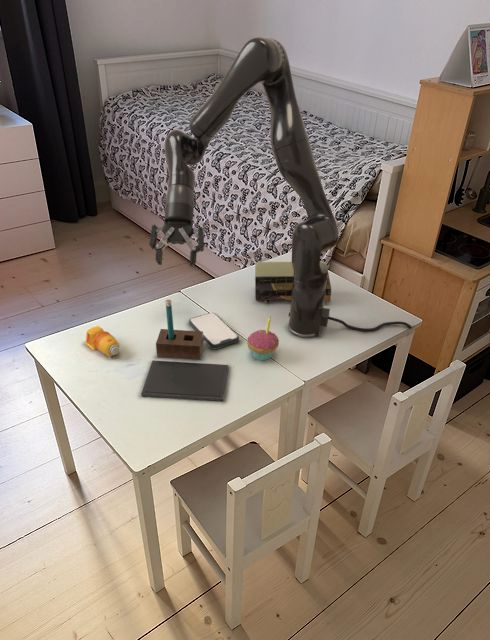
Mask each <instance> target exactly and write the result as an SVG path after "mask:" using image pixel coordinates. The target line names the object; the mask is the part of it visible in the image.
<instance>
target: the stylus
mask: <svg viewBox="0 0 490 640" xmlns="http://www.w3.org/2000/svg"><path fill="white" fill-rule="evenodd" d="M164 303H165V312H166V325H167V326H166V327H167V329H168V338H169V340H174V330H175V328H174V317H173V305H172V303H173V302H172V299H166V300H165V301H164Z"/></svg>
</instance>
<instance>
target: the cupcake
mask: <svg viewBox="0 0 490 640" xmlns="http://www.w3.org/2000/svg"><path fill="white" fill-rule="evenodd" d="M271 318H272V315H270V316H269V318H268V319H267V324H266V329H259V330H256V331H254V332H252V333H250V335H249V336H248V337H247V341H246V345H247V348H248V349H249V350H251V351H252V354H253V357H254V358H255V359H256V360H259V361H267V360H269V359H270V358H271V357H272V355H273V353H274V352H275V351H276V350H277V349H278V348H279V345H280V340H279V337H278V335H277V334H276V332H275V333H274V332H272V331H270V327H271V322H272V319H271Z"/></svg>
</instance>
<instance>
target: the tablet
mask: <svg viewBox="0 0 490 640" xmlns="http://www.w3.org/2000/svg"><path fill="white" fill-rule="evenodd" d="M228 369H229V365H228V364H219V363H218V364H217V363H203V362H202V363H200V362H184V361H169V360H151V363H150V367H149V369H148V372H147V376H146V377H145V381H144V385H143V387H142V391H141V393H140V394H141V397H147V398H161V399H162V398H164V399H177V400H178V399H179V400H193V401H194V400H195V401H212V402H223V401H224V397H225V396H224V395H225V389H226V383H227V376H228Z"/></svg>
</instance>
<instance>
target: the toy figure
mask: <svg viewBox="0 0 490 640" xmlns="http://www.w3.org/2000/svg"><path fill="white" fill-rule="evenodd" d="M85 345H86V346H87V347H89V348H90V349H91V350H93V351H97V350H98V351H99V352H100V353H102V354H103V355H105V356H106V357H113V356H115V355H117V354H118V353H119V352H120V344H119V342H118V340H117V339H116V338H115V337H114V336H113V335H112V334H111V333H110V332H109V331H105V330H104V329H103V328H102V327H100V326H99V325H96V326H93V327H90V328H88V329H87V330H86V335H85Z"/></svg>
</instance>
